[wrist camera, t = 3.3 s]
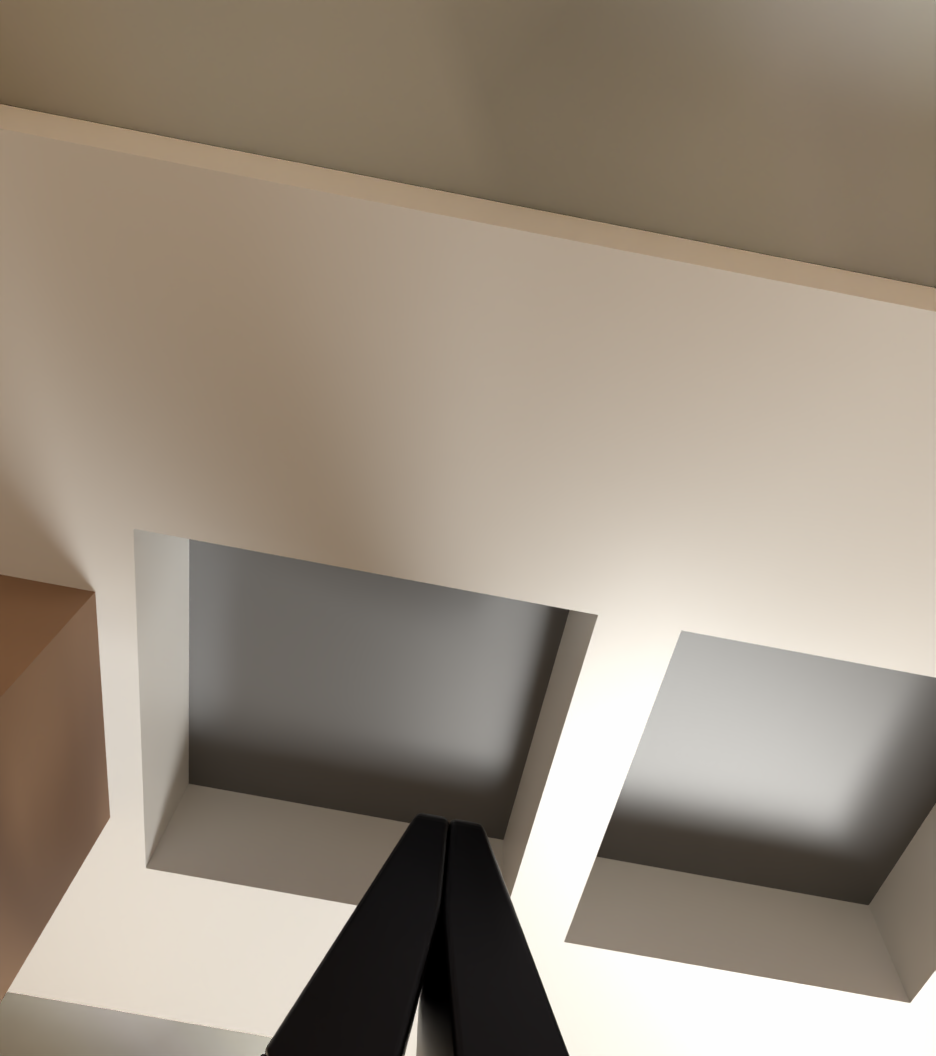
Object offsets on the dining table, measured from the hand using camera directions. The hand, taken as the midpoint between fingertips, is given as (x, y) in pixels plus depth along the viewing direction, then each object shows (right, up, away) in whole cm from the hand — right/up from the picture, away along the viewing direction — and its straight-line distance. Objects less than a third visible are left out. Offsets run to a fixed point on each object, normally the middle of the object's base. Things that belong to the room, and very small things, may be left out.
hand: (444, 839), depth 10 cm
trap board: (-3, +2, +3) cm, 4 cm away
